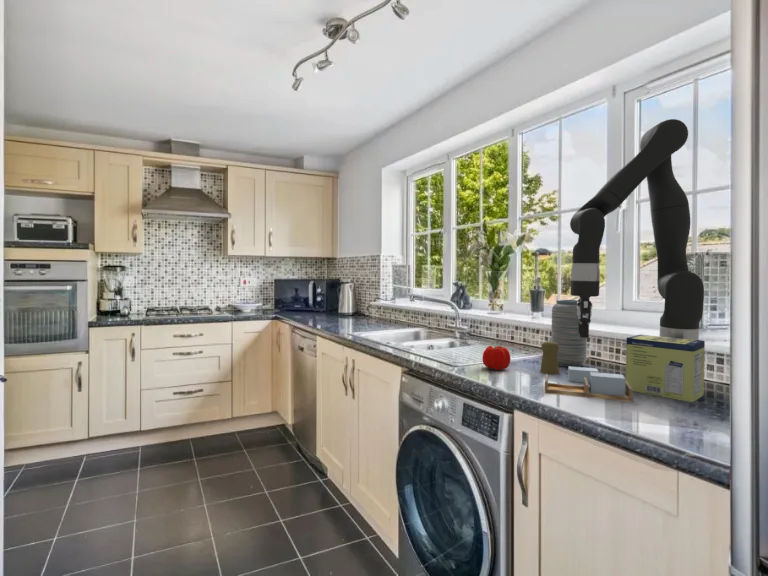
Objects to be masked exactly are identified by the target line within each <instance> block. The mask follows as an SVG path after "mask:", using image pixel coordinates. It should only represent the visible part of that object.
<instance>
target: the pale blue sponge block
mask: <svg viewBox="0 0 768 576" xmlns="http://www.w3.org/2000/svg"><path fill="white" fill-rule="evenodd" d="M625 381H626V376H624V374H617V373H605V372H598V373H595V372H590V383H589V387H590V393H596V394H607V395H617V396H625Z"/></svg>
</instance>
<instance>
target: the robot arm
mask: <svg viewBox="0 0 768 576" xmlns="http://www.w3.org/2000/svg"><path fill="white" fill-rule="evenodd" d="M688 138H689V130H688V127H687V124H685V123H684V122H683V121H682V120H679V119H675V118H671V119H666V120H663V121H661V122H659V123H658V124H656V125H654V126H652V127H650V129H648V130H647V131H645V132H644V134H643V135H641V138H640V142H639V152H638V153H637V154H636V155H635V156H634V157H633V158H632V159H631V160H630V161H629V162H627V164H625V165H624V166H623V167H622V168H621V169H620V170H618V171H617V172H616V173H615V174H614V175H613V176H611V178H609V179H608V180H607V182H605V183H604V185H603V186H602V187H601V188H600V189H599V190H598V191H597V192H596V194H595V195H594V196H593V197H592V198H590V199H589V200H588V201H587V202H586V203H584V204H583V205H582V206H581V207H580V208H579V209H578V210H576V212H575V213H574V214H573V215H572V217H571V218H570V222H569V227H570V230H571V231H572V232H573V233H574V234H575V235H578V237H577V241H576V243H575V245H574V246H573V248H572V257H571V258H572V262H571V263H572V264H571V269H570V270H571V272H570V292H569V293H570V296H573V297H579V298H578V299H577V300H578V301H579V302H577V315H578V321H579V330H578V332H579V334H580V337H581V338H587V339H589V336H590V324H591V321H592V320H591V318H592V310H593V303H592V301H590V299H591V298H593V297H595V298H596V297H599V296H600V282H601V277H600V276H601V270H600V269H601V268H600V256H601V255H600V248H601V244H602V241H603V237H604V233H605V229H606V219H605V217H606V216H607V215H608V214H611V213H612V212H614V211H615V210H616V209H618V208H619V207H620V206H621V204H623V202H624V201H626V199H627V198H628V197H630V195H631V194H632V192H634V191H635V190H636V189H637V187H638V186H639V185H640V184H641V183H642V182H643V181H644V180H645V179H646V182H647V190H648V191H647V192H648V199H649V206H650V207H649V209H650V218H651V225H652V232H653V233H652V234H653V239H654V246H655V251H656V258H657V281H656V282H657V291H658V294H659V295H660V296H661V298H663V300H664V307H663V313H662V315H660V318H659V337H670V338H681V339H692V340H700V339H699V338H700V336H699V335H700V322H701V321H702V318H703V312H704V299H705V298H704V297H705V288H704V287H705V286H704V282H703V280H702V278H701V277H700V276H699V275H698V274H697V273H694V272H692V271H689V266H688V259H687V246H688V242H689V237H690V231H691V212H690V204H689V203H690V202H689V200H688V197H687V194H686V192H685V191H684V189H683V188H682V187H681V185H680V183H679V182H678V181H677V179H676V177H675V174H674V171H673V161H672V155H673V154H675V153H676V152H677V151H679V150H680V149H682V148H683V147H684V145H685V144H686V142H687V141H688Z"/></svg>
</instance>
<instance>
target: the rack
mask: <svg viewBox="0 0 768 576" xmlns="http://www.w3.org/2000/svg"><path fill="white" fill-rule="evenodd" d="M544 376H545V380H544V394H550V395H559V396H567V397H568V396H569V397H570V396H571V397H579V398H589V399H596V400H597V399H600V400H608V401H609V400H610V401H619V402H628V403H630V402H631V403H633V397H634V396H633V394H634V393H633V392H634V391H633V389H632V388H631V386H630V385H629V383H628V382H627V381H626V380H625V396H617V395H607V394H596V393H590V384H589V383H588V381H587V378H586V377H584V382H583V385H578V384H577V385H574V384H563V383H556V382H555V383H552V382H549V374H547V373H545V375H544Z"/></svg>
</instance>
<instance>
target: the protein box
mask: <svg viewBox="0 0 768 576" xmlns="http://www.w3.org/2000/svg"><path fill="white" fill-rule="evenodd" d="M705 343H706V341H705V340H701V339H699V340H692V339H681V338H670V337H660V335H659V336H658V335H649V334H636V335H633V336H628V337H626V343H625V344H626V348H625V349H626V350H625V381H627V382H628V383H629V385H630V386H631V388H632V389H633V392H637V393H642V394H647V395H652V396H658V397H663V398H667V399H674V400H679V401H684V402H690V403H693V402H696V401H697V403H699V404H701V402H702V400H703V399H705V393H704V392H705V391H704V388H705V387H704V386H705V385H704V383H705V350H706V346H705ZM703 401H704V400H703Z"/></svg>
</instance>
